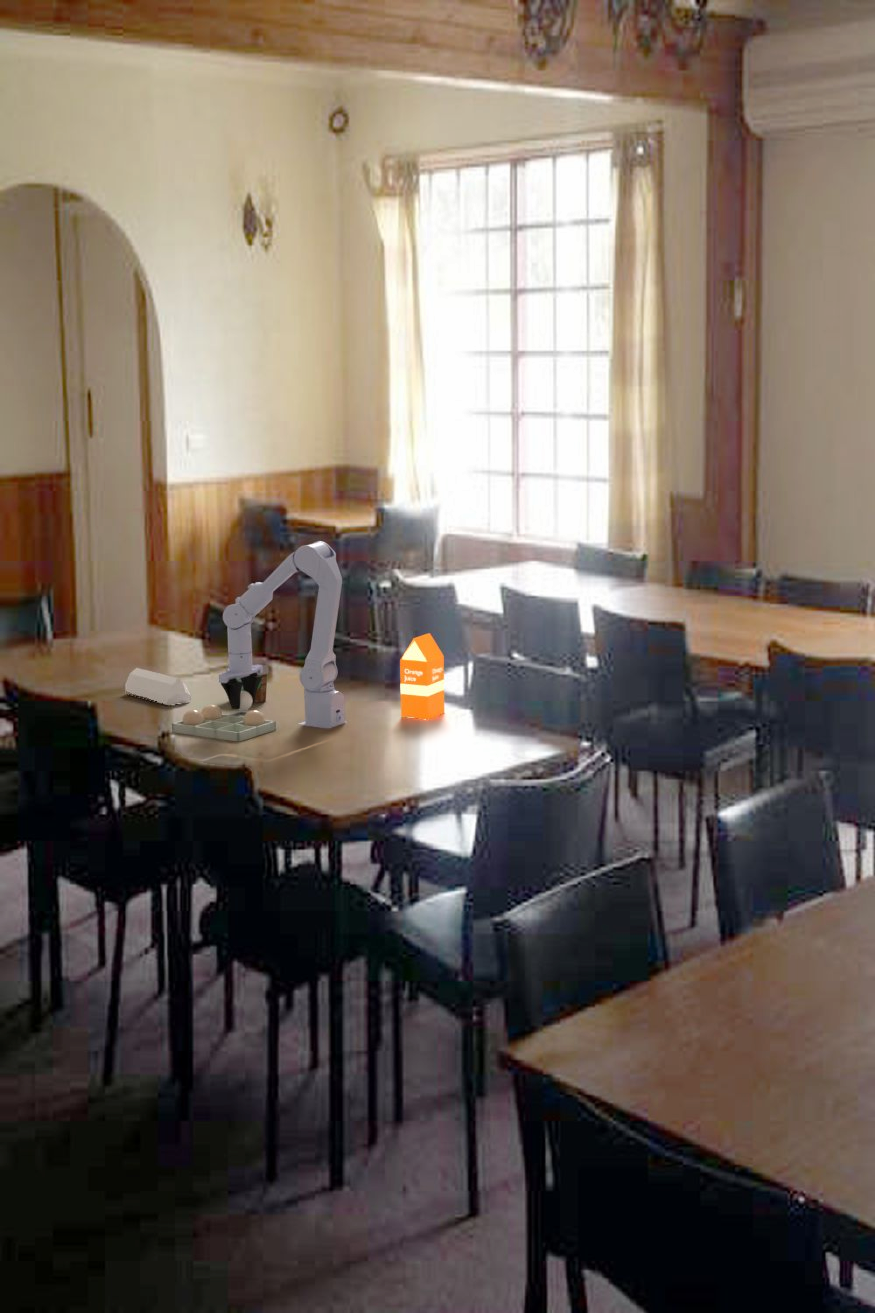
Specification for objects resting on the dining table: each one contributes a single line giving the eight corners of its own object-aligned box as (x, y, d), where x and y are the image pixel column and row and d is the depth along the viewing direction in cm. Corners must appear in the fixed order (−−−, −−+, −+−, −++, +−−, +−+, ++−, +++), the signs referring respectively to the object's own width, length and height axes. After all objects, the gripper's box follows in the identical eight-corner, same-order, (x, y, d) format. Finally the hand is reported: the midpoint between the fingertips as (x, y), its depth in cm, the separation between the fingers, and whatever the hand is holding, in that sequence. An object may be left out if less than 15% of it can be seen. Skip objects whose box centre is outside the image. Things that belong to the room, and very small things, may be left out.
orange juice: (400, 717, 405) (398, 637, 401) (417, 710, 412) (416, 631, 409) (428, 720, 401) (427, 639, 397) (445, 713, 409) (444, 633, 405)
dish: (261, 718, 405) (261, 714, 405) (244, 724, 400) (244, 719, 400) (240, 716, 409) (240, 711, 409) (223, 721, 403) (223, 716, 403)
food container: (217, 704, 423) (215, 665, 422) (230, 699, 429) (229, 661, 427) (257, 708, 418) (255, 669, 416) (270, 703, 423) (269, 665, 421)
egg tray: (276, 732, 391) (275, 721, 391) (238, 744, 380) (238, 733, 379) (210, 722, 402) (209, 712, 402) (172, 734, 391) (171, 723, 390)
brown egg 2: (226, 723, 398) (225, 703, 397) (213, 728, 394) (212, 707, 393) (210, 721, 401) (209, 701, 400) (197, 725, 396) (196, 705, 396)
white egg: (257, 709, 405) (256, 689, 404) (244, 713, 401) (243, 693, 400) (241, 707, 407) (240, 688, 406) (228, 711, 403) (227, 691, 402)
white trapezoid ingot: (200, 688, 425) (150, 675, 443) (180, 678, 421) (129, 665, 438) (189, 714, 424) (139, 700, 442) (168, 704, 419) (119, 691, 437)
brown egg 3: (269, 730, 391) (268, 709, 390) (256, 734, 387) (255, 713, 386) (253, 727, 394) (252, 707, 393) (239, 731, 389) (238, 711, 388)
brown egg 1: (208, 729, 392) (207, 708, 392) (194, 733, 388) (193, 712, 387) (192, 727, 395) (191, 706, 394) (178, 731, 391) (177, 710, 390)
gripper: (246, 646, 409) (248, 699, 412) (208, 655, 397) (210, 710, 400) (268, 648, 406) (270, 702, 408) (230, 658, 394) (233, 713, 396)
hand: (242, 706), depth 404 cm, fingers closed on white egg, 5 cm apart
